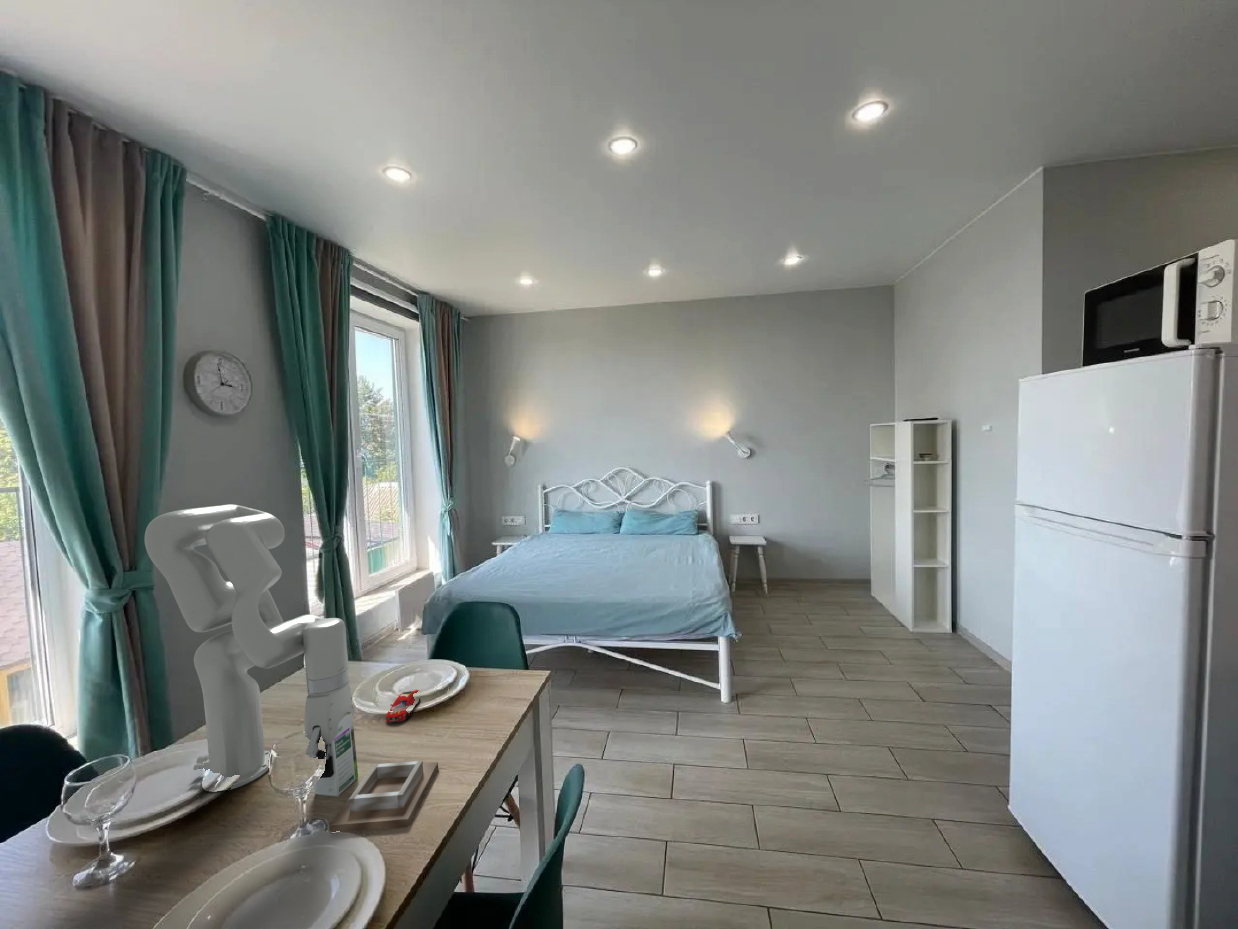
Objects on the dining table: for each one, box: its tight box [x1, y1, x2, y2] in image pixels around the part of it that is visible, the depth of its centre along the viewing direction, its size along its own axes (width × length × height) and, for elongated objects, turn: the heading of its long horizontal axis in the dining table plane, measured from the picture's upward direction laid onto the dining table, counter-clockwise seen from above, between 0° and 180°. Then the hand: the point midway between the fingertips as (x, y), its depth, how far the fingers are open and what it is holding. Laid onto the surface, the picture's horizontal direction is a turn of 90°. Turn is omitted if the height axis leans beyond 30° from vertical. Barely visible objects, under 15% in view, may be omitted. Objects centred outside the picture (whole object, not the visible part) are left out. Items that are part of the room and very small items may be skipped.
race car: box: [385, 689, 420, 724], centre depth 129 cm, size 13×5×4 cm, turn 1°
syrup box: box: [313, 712, 359, 797], centre depth 100 cm, size 6×6×14 cm
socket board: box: [329, 760, 439, 833], centre depth 96 cm, size 14×16×4 cm
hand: (334, 764), depth 100 cm, fingers closed on syrup box, 6 cm apart
